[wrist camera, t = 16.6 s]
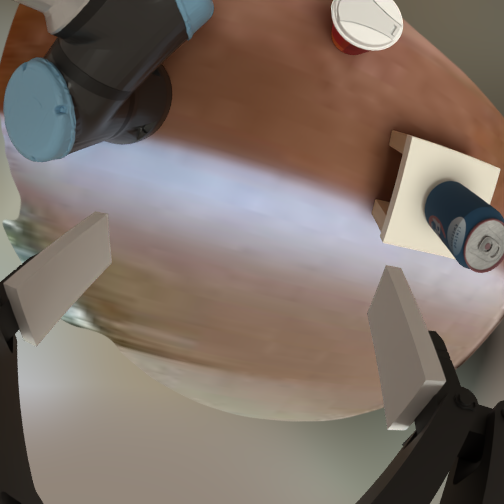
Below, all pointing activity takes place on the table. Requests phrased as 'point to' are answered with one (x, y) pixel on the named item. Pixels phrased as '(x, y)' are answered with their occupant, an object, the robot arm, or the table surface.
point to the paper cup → (365, 25)
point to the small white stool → (426, 190)
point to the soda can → (466, 226)
